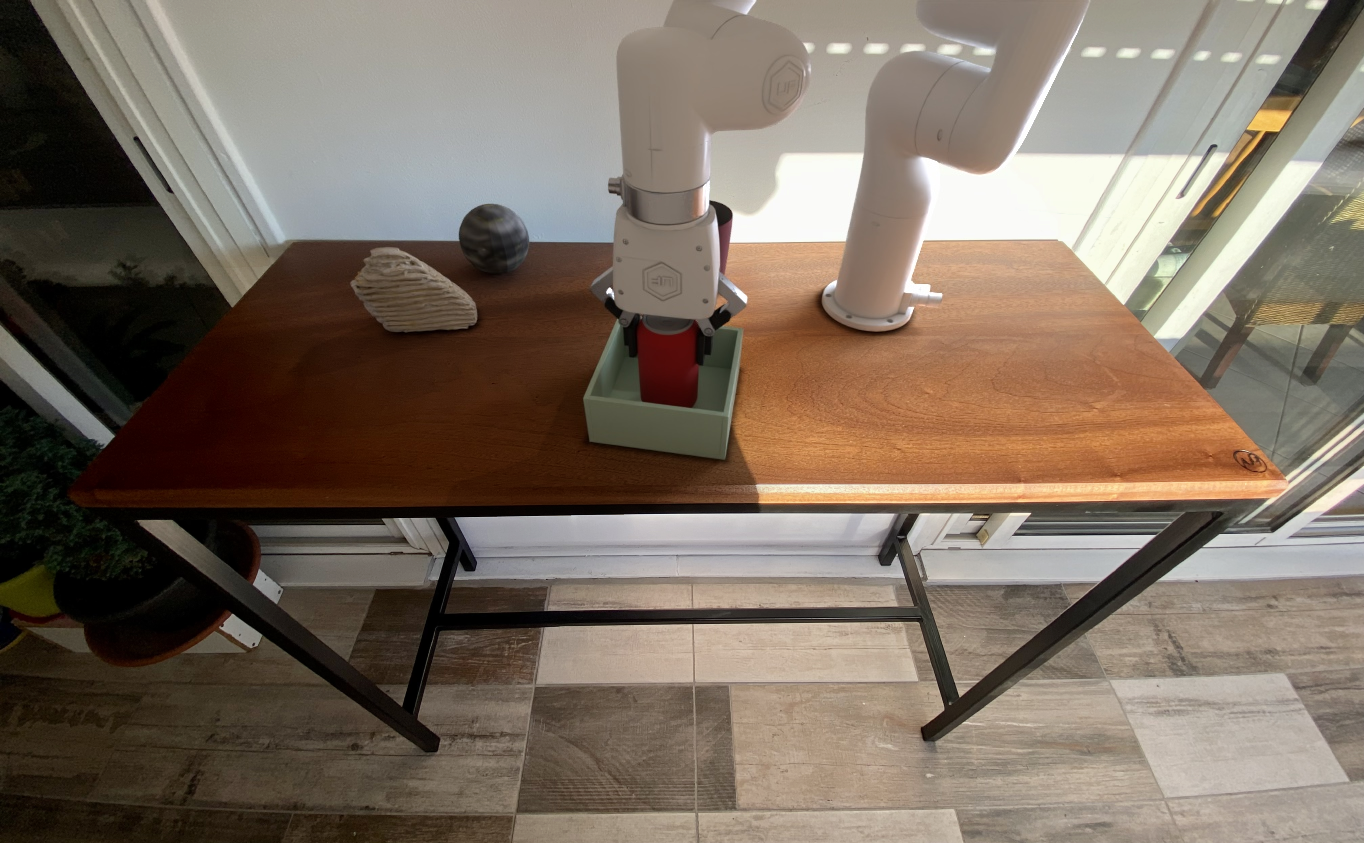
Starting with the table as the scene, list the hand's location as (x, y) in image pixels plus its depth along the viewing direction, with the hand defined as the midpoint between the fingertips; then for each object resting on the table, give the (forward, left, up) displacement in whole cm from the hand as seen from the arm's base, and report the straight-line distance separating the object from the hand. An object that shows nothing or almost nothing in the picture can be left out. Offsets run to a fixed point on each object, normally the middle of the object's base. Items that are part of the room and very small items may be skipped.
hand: (668, 352), depth 65 cm
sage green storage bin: (0, 0, -8) cm, 8 cm away
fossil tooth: (+36, -10, -8) cm, 38 cm away
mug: (+1, -28, -8) cm, 29 cm away
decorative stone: (+31, -25, -8) cm, 41 cm away
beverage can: (0, 0, -7) cm, 7 cm away
